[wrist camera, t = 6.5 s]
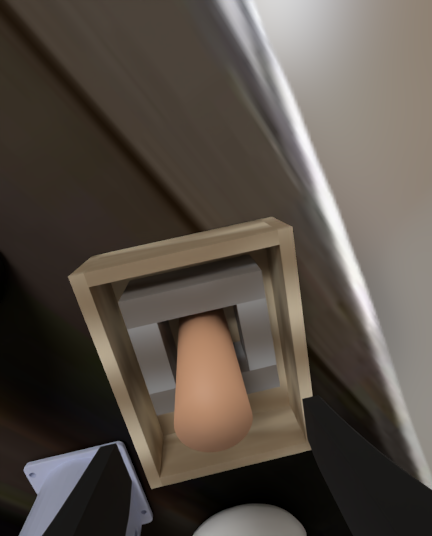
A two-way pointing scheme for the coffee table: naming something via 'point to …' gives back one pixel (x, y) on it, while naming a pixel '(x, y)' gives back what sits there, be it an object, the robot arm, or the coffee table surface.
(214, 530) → the flower in vase
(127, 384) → the box
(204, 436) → the peg
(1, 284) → the supplement bottle
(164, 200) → the coffee table surface
